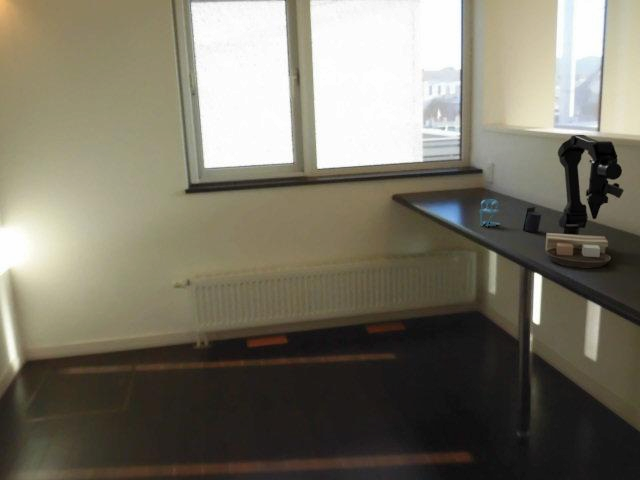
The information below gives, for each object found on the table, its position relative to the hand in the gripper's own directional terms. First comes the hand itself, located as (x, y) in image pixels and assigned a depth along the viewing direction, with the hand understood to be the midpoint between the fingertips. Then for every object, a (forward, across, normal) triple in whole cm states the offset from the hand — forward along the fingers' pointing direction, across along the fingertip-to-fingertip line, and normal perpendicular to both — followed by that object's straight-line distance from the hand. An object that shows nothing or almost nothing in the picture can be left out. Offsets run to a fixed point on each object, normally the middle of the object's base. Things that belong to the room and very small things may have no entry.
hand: (594, 218), depth 218 cm
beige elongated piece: (+13, -4, +6) cm, 14 cm away
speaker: (+13, +34, +21) cm, 43 cm away
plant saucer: (+13, -16, +5) cm, 22 cm away
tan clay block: (+7, -17, +10) cm, 21 cm away
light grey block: (+7, -16, +1) cm, 18 cm away
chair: (+13, +41, +41) cm, 60 cm away
